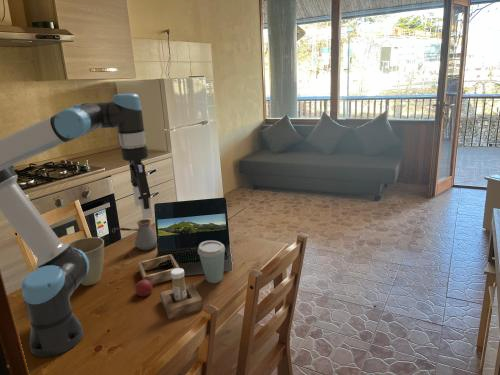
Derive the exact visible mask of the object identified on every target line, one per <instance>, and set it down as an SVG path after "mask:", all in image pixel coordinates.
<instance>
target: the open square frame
mask: <svg viewBox="0 0 500 375" xmlns="http://www.w3.org/2000/svg"><path fill="white" fill-rule="evenodd" d="M167 260H171V263H172V265H173V267H174V268H173V267H172V268H170V269H167V270H162V271H159V272H154V273H151V274H147V273H146V271H149V270H153V269H155V267H157V266H158V265H159V264H160V263H162V262H165V261H167ZM137 265H138V268H139V273H140V276H141V277H142V280H148V281H150V282H151V284H152V286H153V285H157V284H159V283H160V284H161V283H163V282H164V283H165V282H168V281H172V278H171V271H172V270H173V269H176V268H180V267H181V266H179V264H178V263H177V261H176V259H175V258H174V256H173V254H166V255H162V256H158V257H154V258H150V259H146V260H145V259H144V260H142V261H138V264H137ZM172 265H171V266H172ZM157 268H158V267H157Z"/></svg>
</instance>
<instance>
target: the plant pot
mask: <svg viewBox="0 0 500 375" xmlns="http://www.w3.org/2000/svg"><path fill="white" fill-rule="evenodd" d="M68 244H70V246H71V247H72V248H76V249H77V250H81V251H82V252H84V253H85V255H86V256H87V258H88V260H89V271H88V273H87V275H86V277H85V279H84V280H83V281H82V282H81V283H80V285H82V286H86V287H87V286H93V285H95V284H97V283H99V282H100V281H101V278H102V273H103V268H104V260H105V241H104V239H103V238H101V237H96V236H95V237H94V236H93V237H91V236H90V237H84V238H79V239H76V240H72V241H71V242H69V243H68Z"/></svg>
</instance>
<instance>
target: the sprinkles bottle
mask: <svg viewBox="0 0 500 375" xmlns="http://www.w3.org/2000/svg"><path fill="white" fill-rule="evenodd" d="M172 269H173V268H172ZM171 278H172V279H171V281H172V289H173V291H174V298H175V301H174V303H177V302H180V301H184V300H187V299H188V298H187V293H186V286H185V285H186V281H185V280H186V279H185V270H184V268H182V267H181V268H176V269H173V270H172V271H171Z"/></svg>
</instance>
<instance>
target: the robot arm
mask: <svg viewBox="0 0 500 375" xmlns="http://www.w3.org/2000/svg"><path fill="white" fill-rule="evenodd" d="M143 118H144V117H143V108H142V105H141V100H140V95H138V94H137V93H135V92H134V93H131V92H129V93H119V94H114V95H113V97H112V101H107V102H106V101H105V102H83V103H78V104H77V103H76V104H74V106H69V107H68V108H65V109H63V110H61V111H59V112H58V113H57V114H54V115H52V116H50V117H47V118H45V119H43V120H41V121H38V122H35V123H34V124H31V125H29V126H27V127H24V128H22V129H19V130H18V131H15V132H13V133H11V134H9V135H7V136H4V137H2V138H0V213H1V215H3V217H4V218H5V219H6V221H7V222H8V223H9V224H10V226H11V227H12V228H13V229H14V231H15V232H16V233H17V234H18V236H19V237H20V239H22V241H23V242H24V244H25V245H26V246H27V247H28V249H29V250H30V251H31V252H32V253H33V255H34V256H35V257H36V260H37V261H36V265H35V266H36V267H37V268H36V270H33V271H30V272H29V273H28V274H27V275H26V276H25V277H24V278H23V280H22V281H21V285H20V288H21V296H22V298H23V302H24V305H25V308H26V311H27V315H28V318H29V322H30V334H29V342H28V343H29V348H30V349H29V350H30V353H31V354H32V353H33V354H32V355H34V356H35V355H36V357H39V358H48V357H49V358H50V357H55V356H58V355H61V354H63V353H66V352H68V351H69V350H71V349H72V348H74V347H75V346H77V345H78V344H79V343H80V341H81V340H82V338H83V336H84V328H83V326H82V323H81V322H80V320H79V319H78V318H77V317H76V315H75V314H74V313H73V309H72V304H71V300H70V299H71V296H72V295H73V293H75V291H76V289H77V288H78V287H79V286H80V285H81V282H82V281H83V280H84V279H85V277H86V275H87V273H88V271H89V260H88V258H87V256H86V255H85V253H84V252H82V251H81V250H77V249H76V248H72V247H71V246H70V244H69V243H67V242H62V241H61V240H60V238H59V237H58V236H57V234H56V232H55V231H54V230H53V229H52V227H51V226H50V224H48V221H46V220H45V218H44V217H43V215H42V214H41V213H40V212H39V210H38V209H37V207H35V205H34V203H33V202H32V201H31V200H30V199H29V197H28V196H27V195H26V193H25V192H24V190H23V189H22V188H21V187H20V185H19V184H18V182H17V181H18V174H17V173H16V171H15V170H14V169H15V165H17V164H20V163H22V162H24V161H27V160H29V159H31V158H33V157H35V156H39V155H40V154H43V153H45V152H47V151H49V150H52V149H54V148H56V147H58V146H62V145H63V144H65V143H68V142H71V141H73V140H75V139H79V138H80V137H83V136H85V135H87V134H89V133H91V132H94V131H97V130H99V129H109V128H110V129H112V128H117V130H118V139H119V144H120V147H121V148H120V150H121V151H120V152H121V157H122V160H123V161H125V162H126V161H127V162H129V166H128V167H129V171H130V183H131V186H132V191H133V196H134V197H133V198H134V204H135V207H139V206H140V207H141V213H142V220H144V219H152V218H153V213H152V212H153V211H152V205H151V196H152V195H151V191H150V187H149V183H148V178H147V173H146V166H145V164H143V162H142V161H143V160H145V159H146V158H148V157H149V152H148V146H147V145H146V144H147V141H146V140H147V139H146V137H148V134H147V133H145V126H144V119H143Z"/></svg>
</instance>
